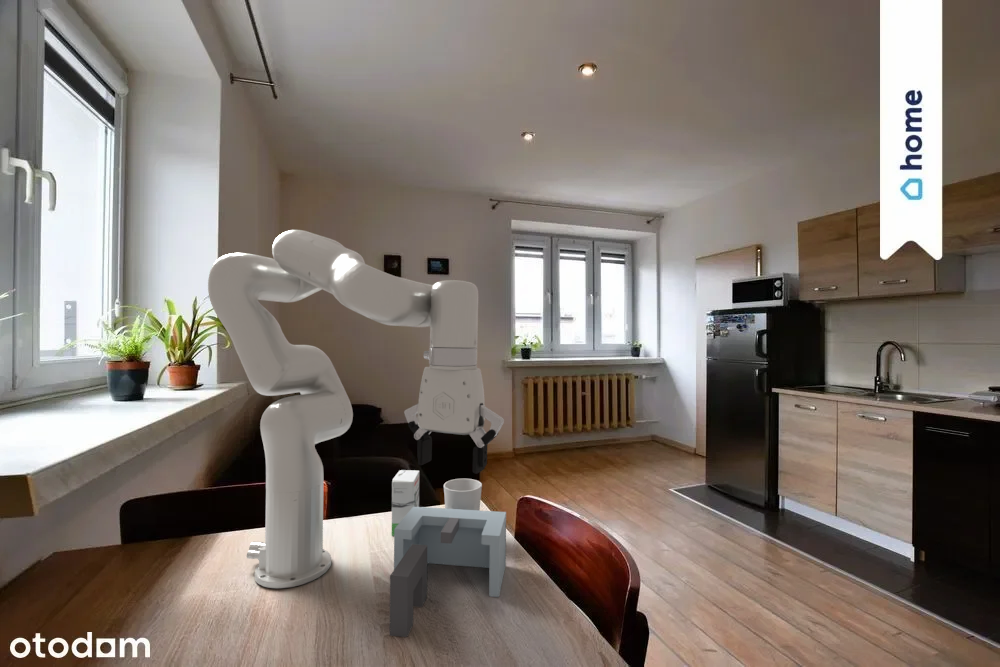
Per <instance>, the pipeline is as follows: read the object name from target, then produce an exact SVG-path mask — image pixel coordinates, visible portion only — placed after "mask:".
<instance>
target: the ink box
mask: <svg viewBox="0 0 1000 667" xmlns="http://www.w3.org/2000/svg"><path fill="white" fill-rule="evenodd" d="M413 507H420V470H415V469H414V470H411V469H407V470H406V469H401V470H400V469H399V470H398V472H397V473H396V474H395V476H394V477H393V478H392V481H391V536H392V537H394V529H395V528H396V527H397V525H398V524H399V523H400V522H401V521H402V519H403V518H404V517H405V516H406V515H407V514H408V512H409V511H410V510H411V509H412V508H413Z"/></svg>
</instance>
